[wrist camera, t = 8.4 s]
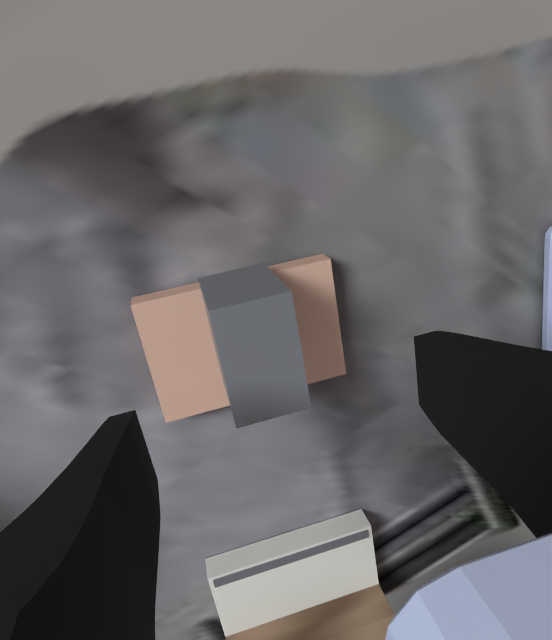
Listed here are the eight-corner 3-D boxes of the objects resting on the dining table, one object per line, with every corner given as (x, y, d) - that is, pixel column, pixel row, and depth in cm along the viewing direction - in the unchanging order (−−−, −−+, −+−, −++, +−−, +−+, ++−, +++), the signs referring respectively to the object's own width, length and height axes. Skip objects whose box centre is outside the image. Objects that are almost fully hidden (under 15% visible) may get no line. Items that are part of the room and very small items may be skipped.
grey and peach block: (320, 243, 19) (372, 271, 15) (338, 364, 21) (388, 422, 16) (128, 287, 18) (118, 332, 13) (165, 410, 20) (167, 487, 15)
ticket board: (361, 508, 24) (387, 554, 21) (372, 587, 26) (397, 639, 23) (205, 558, 23) (211, 613, 20) (229, 637, 25) (237, 697, 22)
